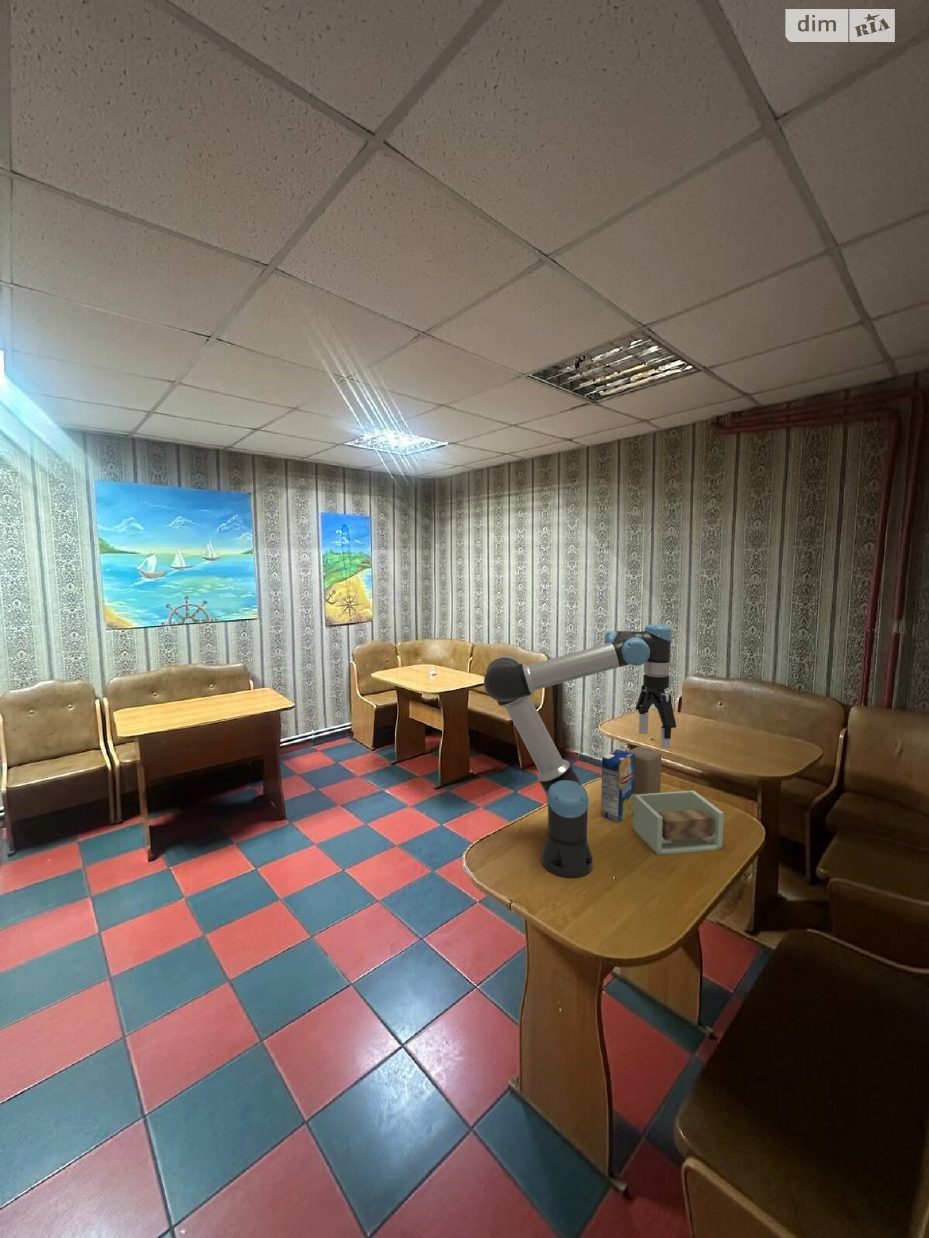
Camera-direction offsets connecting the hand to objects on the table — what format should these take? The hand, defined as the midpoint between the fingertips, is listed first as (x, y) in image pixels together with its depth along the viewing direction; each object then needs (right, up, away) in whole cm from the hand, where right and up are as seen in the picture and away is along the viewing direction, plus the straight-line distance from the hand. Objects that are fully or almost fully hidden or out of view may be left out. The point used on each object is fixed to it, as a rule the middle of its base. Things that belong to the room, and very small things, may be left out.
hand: (653, 740), depth 156 cm
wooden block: (+7, -32, +32) cm, 45 cm away
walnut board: (+11, -30, +2) cm, 32 cm away
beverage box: (-5, -33, +23) cm, 40 cm away
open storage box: (+10, -34, +7) cm, 36 cm away
